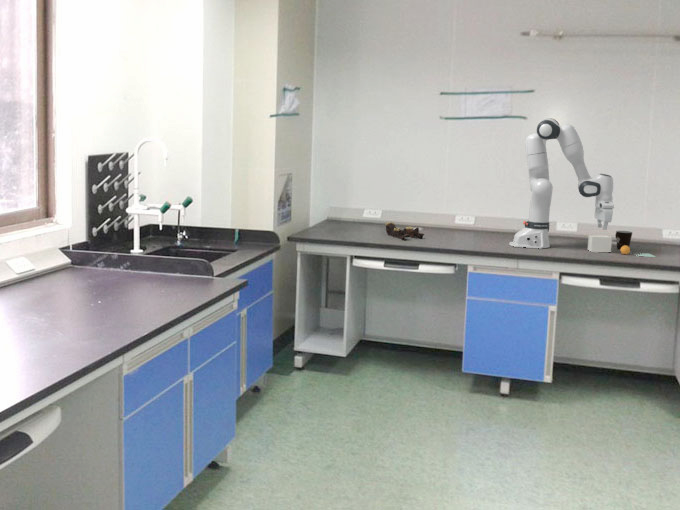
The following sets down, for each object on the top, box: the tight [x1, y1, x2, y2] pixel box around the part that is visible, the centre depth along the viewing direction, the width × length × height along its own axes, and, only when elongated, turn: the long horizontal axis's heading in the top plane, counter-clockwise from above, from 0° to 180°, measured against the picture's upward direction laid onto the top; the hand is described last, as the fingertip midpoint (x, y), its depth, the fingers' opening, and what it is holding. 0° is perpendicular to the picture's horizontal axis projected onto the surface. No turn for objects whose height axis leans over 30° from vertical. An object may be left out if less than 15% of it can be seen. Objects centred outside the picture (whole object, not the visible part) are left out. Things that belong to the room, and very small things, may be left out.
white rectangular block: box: [587, 234, 613, 253], centre depth 438 cm, size 11×7×9 cm, turn 88°
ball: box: [620, 245, 631, 255], centre depth 431 cm, size 5×5×5 cm
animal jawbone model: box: [385, 221, 425, 241], centre depth 469 cm, size 17×25×10 cm
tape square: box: [636, 252, 656, 258], centre depth 431 cm, size 10×10×1 cm
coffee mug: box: [614, 230, 633, 250], centre depth 450 cm, size 12×9×10 cm
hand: (602, 228), depth 436 cm, fingers open, 8 cm apart
